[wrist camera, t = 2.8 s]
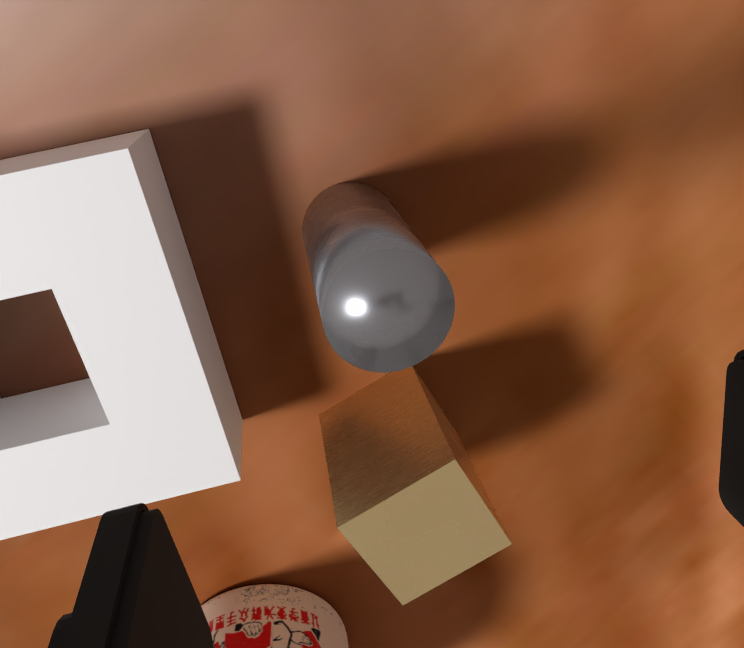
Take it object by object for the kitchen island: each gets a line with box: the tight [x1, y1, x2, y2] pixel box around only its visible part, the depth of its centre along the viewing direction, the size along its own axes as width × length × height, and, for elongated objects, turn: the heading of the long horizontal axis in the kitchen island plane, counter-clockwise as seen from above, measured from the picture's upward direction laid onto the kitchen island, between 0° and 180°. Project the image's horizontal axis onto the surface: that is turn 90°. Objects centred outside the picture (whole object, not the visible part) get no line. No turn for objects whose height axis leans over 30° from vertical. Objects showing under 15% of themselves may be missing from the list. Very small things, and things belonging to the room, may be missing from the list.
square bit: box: [319, 366, 512, 605], centre depth 25 cm, size 4×4×7 cm
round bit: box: [302, 182, 455, 372], centre depth 21 cm, size 4×4×8 cm
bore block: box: [0, 129, 243, 540], centre depth 22 cm, size 12×12×4 cm
